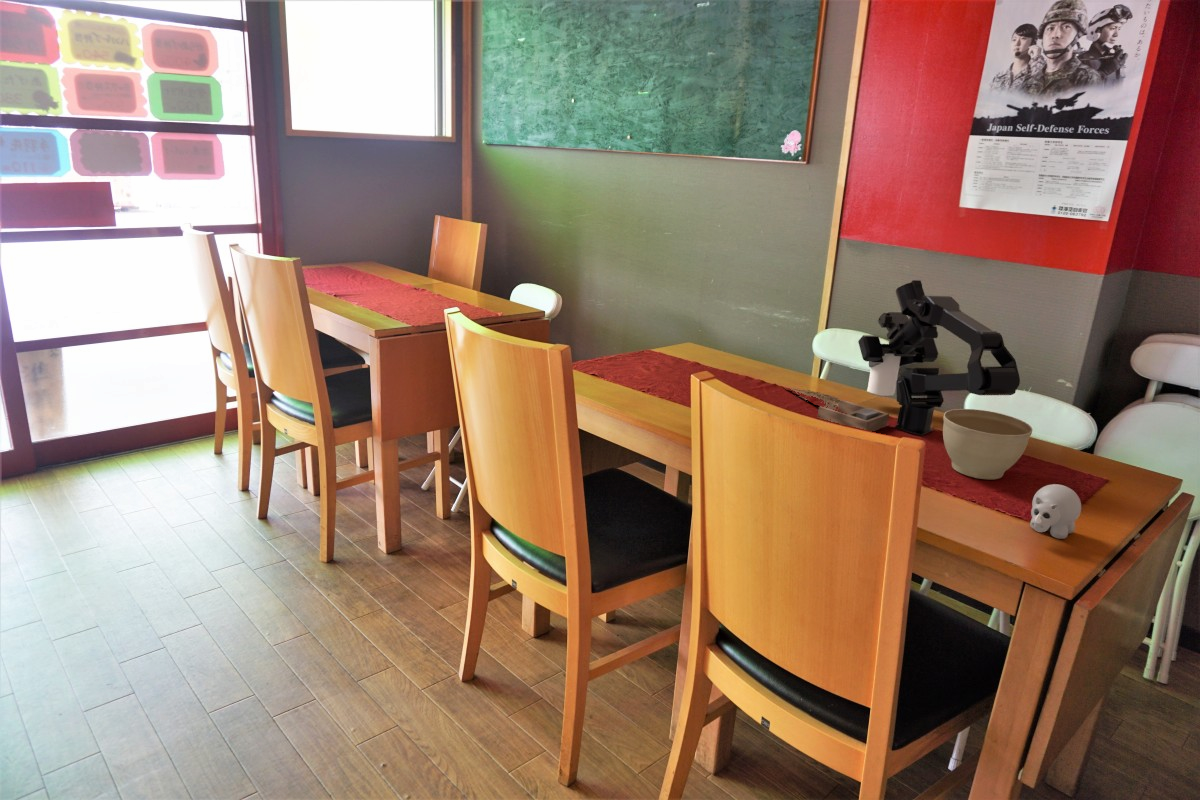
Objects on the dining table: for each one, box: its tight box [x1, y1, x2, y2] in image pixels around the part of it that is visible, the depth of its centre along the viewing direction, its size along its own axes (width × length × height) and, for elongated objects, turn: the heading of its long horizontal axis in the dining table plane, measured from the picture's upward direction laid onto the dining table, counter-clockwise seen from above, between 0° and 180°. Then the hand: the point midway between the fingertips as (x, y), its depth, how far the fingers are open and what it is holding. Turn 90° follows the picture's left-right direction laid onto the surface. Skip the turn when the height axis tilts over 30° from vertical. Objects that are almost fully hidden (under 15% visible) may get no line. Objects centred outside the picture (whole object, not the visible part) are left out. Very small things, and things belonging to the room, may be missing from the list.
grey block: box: [856, 408, 879, 420], centre depth 182 cm, size 4×7×4 cm, turn 133°
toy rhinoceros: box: [1029, 483, 1082, 540], centre depth 132 cm, size 7×12×8 cm, turn 130°
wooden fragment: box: [790, 388, 841, 410], centre depth 199 cm, size 26×11×1 cm, turn 32°
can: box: [867, 354, 901, 397], centre depth 195 cm, size 6×6×12 cm
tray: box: [816, 399, 890, 432], centre depth 184 cm, size 12×10×3 cm
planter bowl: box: [942, 408, 1033, 480], centre depth 158 cm, size 16×16×11 cm
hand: (882, 365), depth 196 cm, fingers closed on can, 6 cm apart
